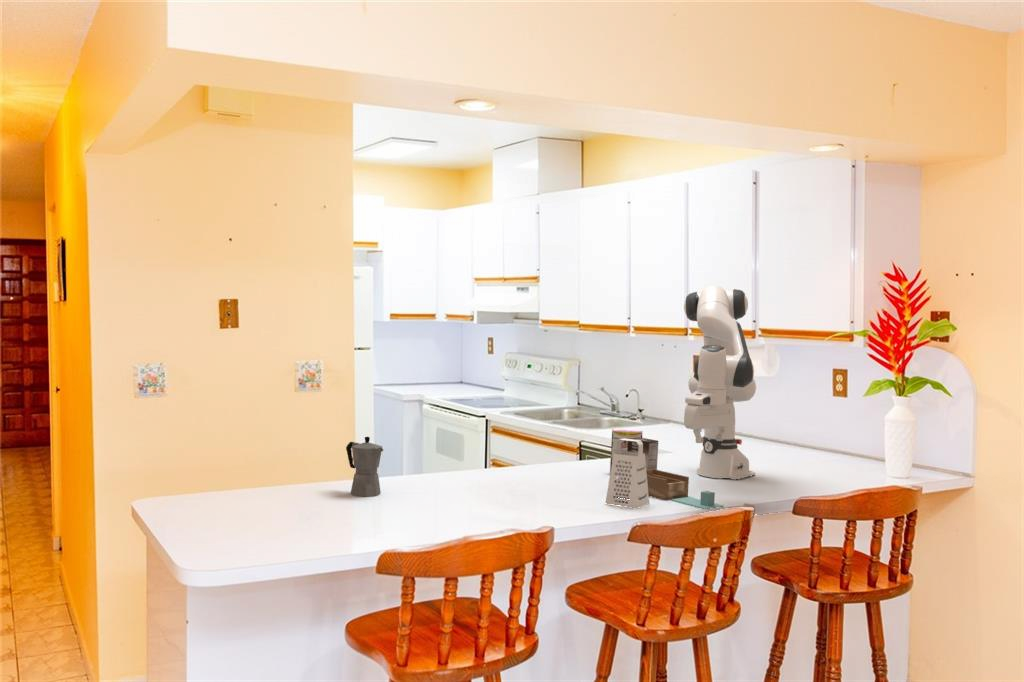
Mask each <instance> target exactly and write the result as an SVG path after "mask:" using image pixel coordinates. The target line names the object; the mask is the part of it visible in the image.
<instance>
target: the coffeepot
mask: <svg viewBox="0 0 1024 682" xmlns="http://www.w3.org/2000/svg"><path fill="white" fill-rule="evenodd" d="M370 439H371V437H370V436H365V437H364V442H362V443H361V442H355V441H350V442H348V443H347V445H346V447H345V451H346V454H347V458H348V463H349V467H350V468H352V469H355V473H354V474H353V480H352V485H351V489H350V494H351V495H352V496H354V497H359V498H361V497H362V498H371V497H377V496H379V495H380V494H381V487H380V486H381V485H380V479H379V474H378V468H379V467H380V461H381V457H382V456H381V455H382V452H383V451H384V448H383V445H382V446H381V445H380V444H376V443H373V442H370Z"/></svg>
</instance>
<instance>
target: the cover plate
mask: <svg viewBox="0 0 1024 682" xmlns="http://www.w3.org/2000/svg"><path fill="white" fill-rule="evenodd" d="M715 495H716V493H715V492H714V491H709V490H705V491H701V492H700V498H695V497H692V496H688V497H683V498H676V499H670V501H671V502H674V503H678V504H681V505H685V506H689V505H690V506H689V507H693V506H694V507H693V508H697V509H700V508H701V510H704V509H709V510H711V509H710V508H715V509H717V508H716V507H722V508H724V507H725V505H723V504H720V503H716V502H715V497H716V496H715ZM723 506H724V507H723Z"/></svg>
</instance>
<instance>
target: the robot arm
mask: <svg viewBox="0 0 1024 682" xmlns="http://www.w3.org/2000/svg"><path fill="white" fill-rule="evenodd" d="M748 309H749V301H748V297H747V296H746V293H745V292H744V291H743V290H741V289H735V288H734V289H724V288H723V287H721V286H720V285H709V286H707V287H705V288H704V289H703V290H702V291H700V292H697V291H693V292H691V293H689V294H687V295H686V297H685V300H684V303H683V310H684V313H685V315H686V318H687V319H688V320H689V321H692V322H696V323H697V327H698V329H699V330H700V331H701V333H703V334H702V335H703V346H701V347H700V352H699V356H698V357H697V358H696V359H695V360H694V361H693V365H694V366H693V367H694V370H693V372H692V374H690V377H689V378H688V384H687V385H688V389H689V392H690V394H689V395H686V397H685V398H684V403H686V405H685V408H684V415H683V424H684V427H685V428H686V429H689V430H692V432H693V434H694V437H695V443H696V444H702V447H703V448H702V450H701V453H700V459H699V467H698V468H697V469H696V471H697V475H700V476H703V477H704V478H705V477H706V478H712V479H722V478H731V479H730V480H736V479H738V480H740V479H739V478H742V479H744V478H743V477H746V478H748V477H747V476H750V477H752V476H751V475H754V476H756V475H755V474H756V472H755V471H752V470H750V461H749V459H748V457H747V456H746V455H745V454H743V452H742V451H741V450H739V448H738V447H739V446H738V445H742V443H743V439H742V438H741V439H740V438H736V433H735V432H736V411H735V408H736V407H735V405H734V402H735V403H737V402H738V403H740V402H748V401H750V400H751V399H753V398H754V396H755V394H756V390H757V385H756V380H755V379H754V375H755V369H754V364H753V362H752V359H751V357H750V354H749V353H750V352H749V350H748V346H747V342H746V339H745V334H744V331H743V328H742V326H741V324H740V322H739V321H738V320H739V319H742V318H744V317H745V315H746V313H747V311H748ZM702 429H704V430H703V432H704V434H703V435H704V436H702V434H701V433H702Z"/></svg>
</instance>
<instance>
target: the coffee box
mask: <svg viewBox="0 0 1024 682" xmlns="http://www.w3.org/2000/svg"><path fill="white" fill-rule="evenodd" d="M629 439H634V440H641V442H642V443H643V453H645V462H646V470H649V469H656V470H658V457H659V440H658V439H657V440H656V439H650V438H646V437H642V438H640V437H636V438H629ZM638 449H639V445H638V444H637V442H636V441H628V447H627V451H628V452H637V453H638Z"/></svg>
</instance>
